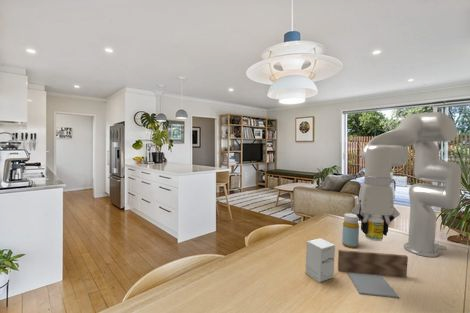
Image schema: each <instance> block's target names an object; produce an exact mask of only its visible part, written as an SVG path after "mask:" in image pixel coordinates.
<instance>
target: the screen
mask: <svg viewBox="0 0 470 313" xmlns="http://www.w3.org/2000/svg"><path fill="white" fill-rule="evenodd" d="M337 251H338V252H337V253H338V254H337V255H338V256H337V271H338V272H343V273H357V274H367V275H378V276H383V277H384V276H386V277H397V278H407V276H408V275H407V274H408V273H407V272H408V260H409V259H408V258H409V257H408V255H405V254H394V253H382V252H370V251H360V250H359V251H357V250H346V249H338V250H337Z"/></svg>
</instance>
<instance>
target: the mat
mask: <svg viewBox="0 0 470 313" xmlns="http://www.w3.org/2000/svg"><path fill="white" fill-rule="evenodd" d="M347 275H348V277H349V279H350V280H351V282H352V284H353V286H354V287H355V288H356V291H357V293H358V294H359V295H365V296H374V297H375V296H376V297H384V298H385V297H386V298H396V299H400V296H399V295H398V293H397V292H396V290H394V289H393V286H392V287H391V285H390V284H389V282H388V281H387V280H386V279H385V278H384V275H374V274H363V273H353V272H347Z"/></svg>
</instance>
